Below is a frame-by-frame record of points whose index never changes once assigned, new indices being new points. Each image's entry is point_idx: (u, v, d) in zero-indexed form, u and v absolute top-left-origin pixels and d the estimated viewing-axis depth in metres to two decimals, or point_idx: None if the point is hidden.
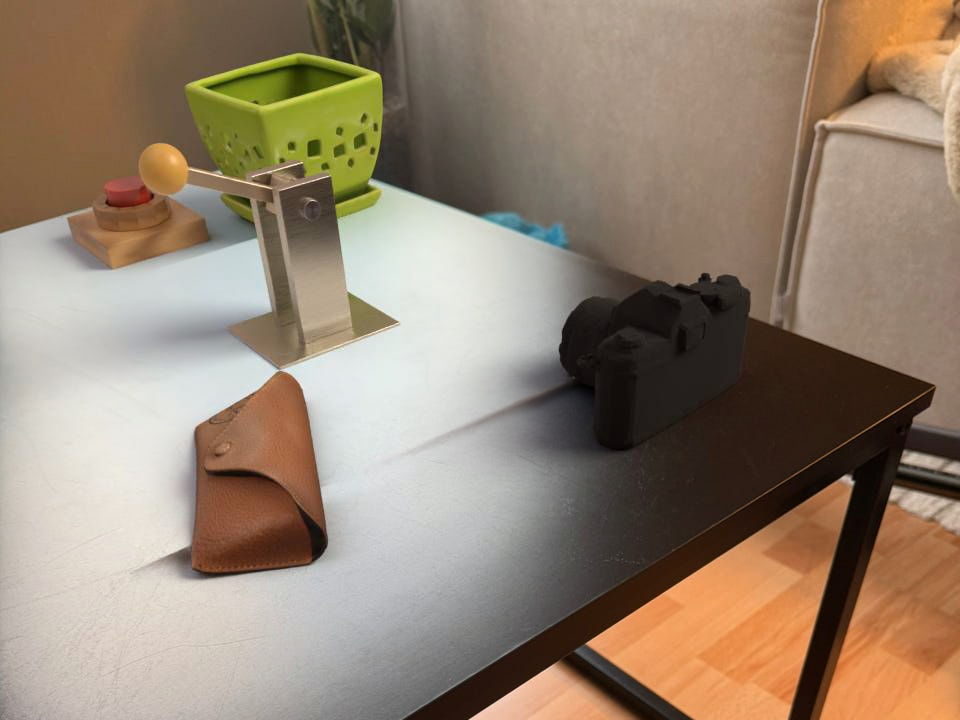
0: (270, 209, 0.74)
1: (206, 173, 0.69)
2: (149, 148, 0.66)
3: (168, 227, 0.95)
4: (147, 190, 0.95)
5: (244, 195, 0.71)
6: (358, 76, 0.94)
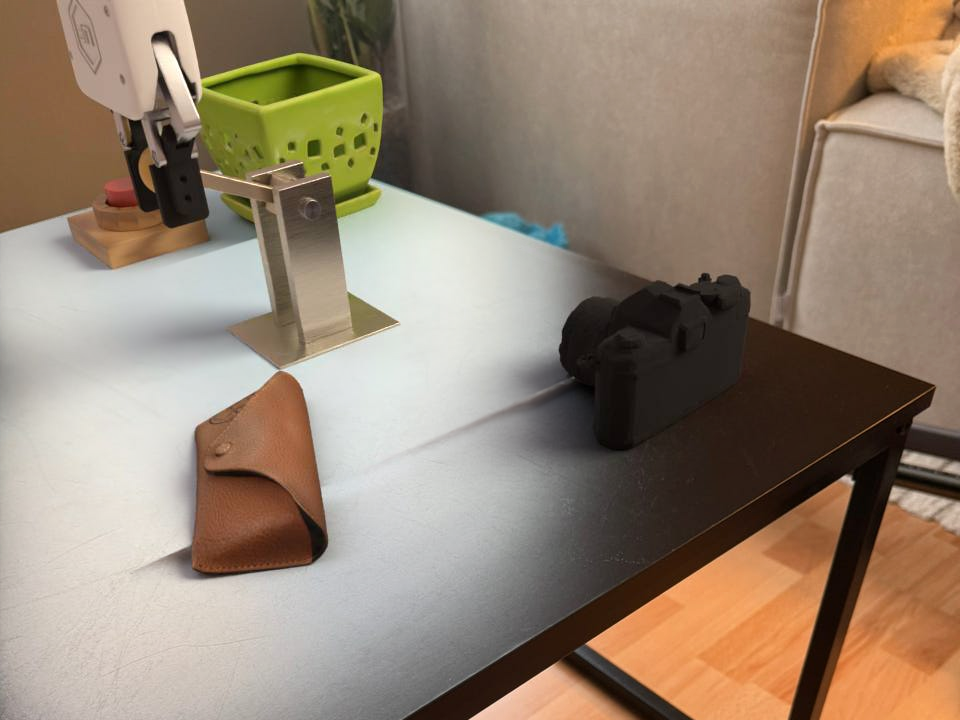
0: (270, 209, 0.74)
1: (206, 173, 0.69)
2: None
3: None
4: None
5: (244, 195, 0.71)
6: (358, 76, 0.94)
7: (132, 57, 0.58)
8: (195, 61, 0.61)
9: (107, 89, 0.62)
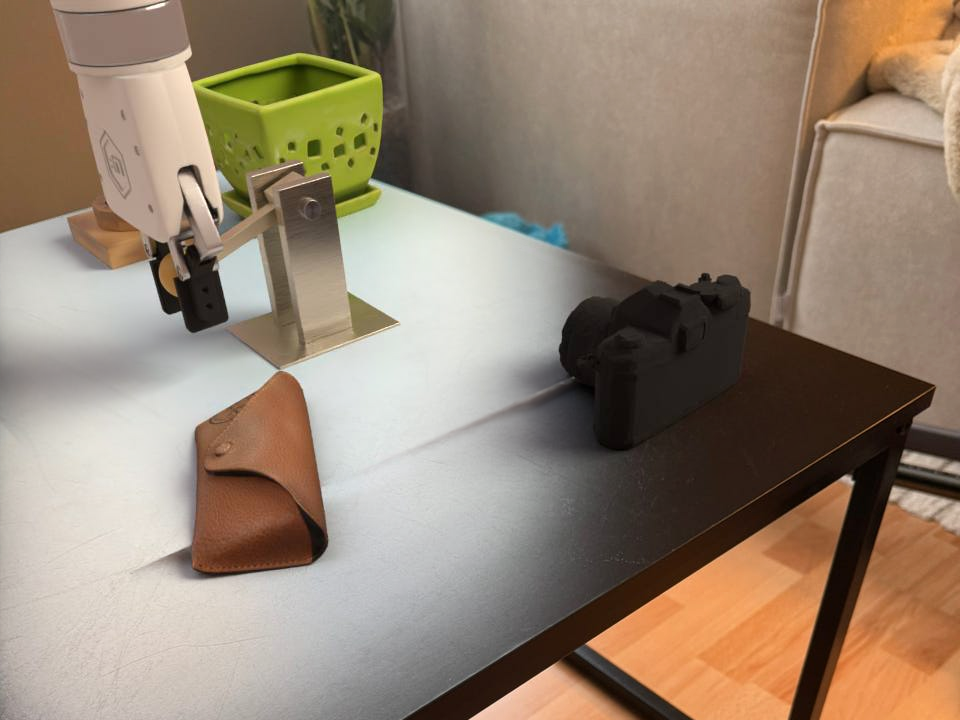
0: None
1: None
2: (161, 270, 0.71)
3: None
4: None
5: (253, 236, 0.73)
6: (358, 76, 0.94)
7: (159, 190, 0.63)
8: (217, 189, 0.66)
9: (135, 214, 0.67)
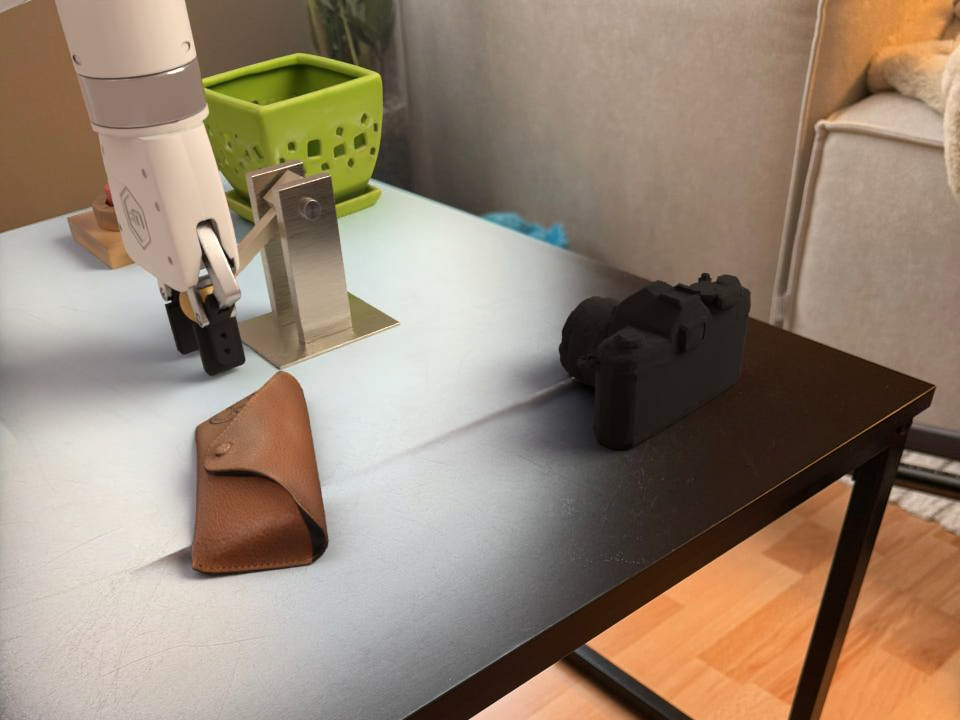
0: None
1: None
2: (181, 302, 0.73)
3: None
4: None
5: (261, 247, 0.74)
6: (358, 76, 0.94)
7: (179, 244, 0.66)
8: (234, 240, 0.68)
9: (155, 264, 0.69)
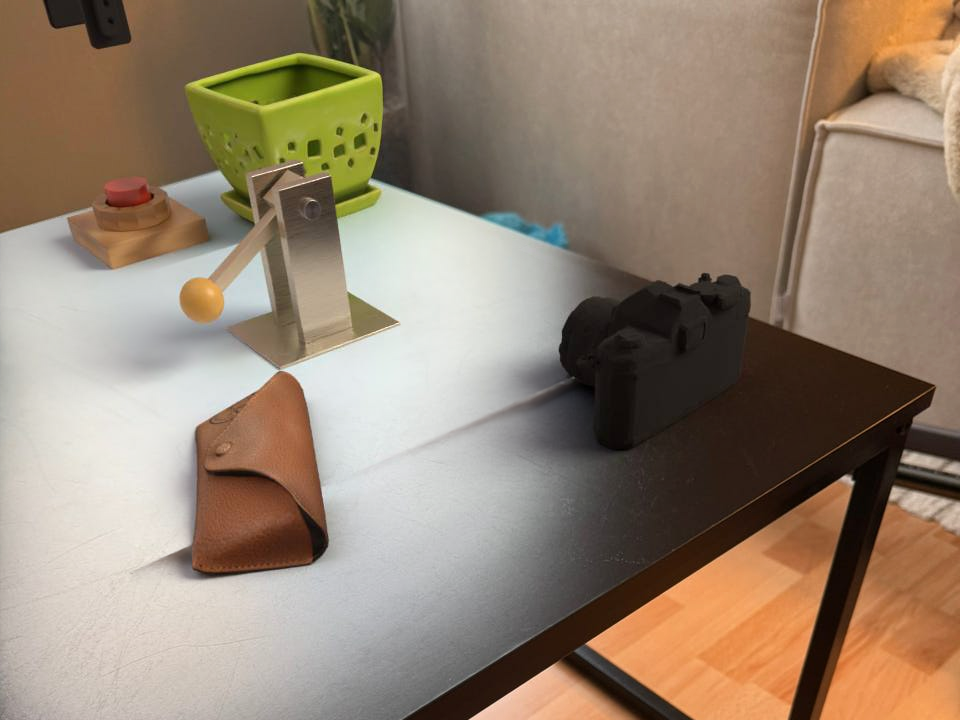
0: None
1: (226, 270, 0.74)
2: (181, 302, 0.73)
3: (168, 227, 0.95)
4: (147, 190, 0.95)
5: (261, 247, 0.74)
6: (358, 76, 0.94)
7: None
8: None
9: None
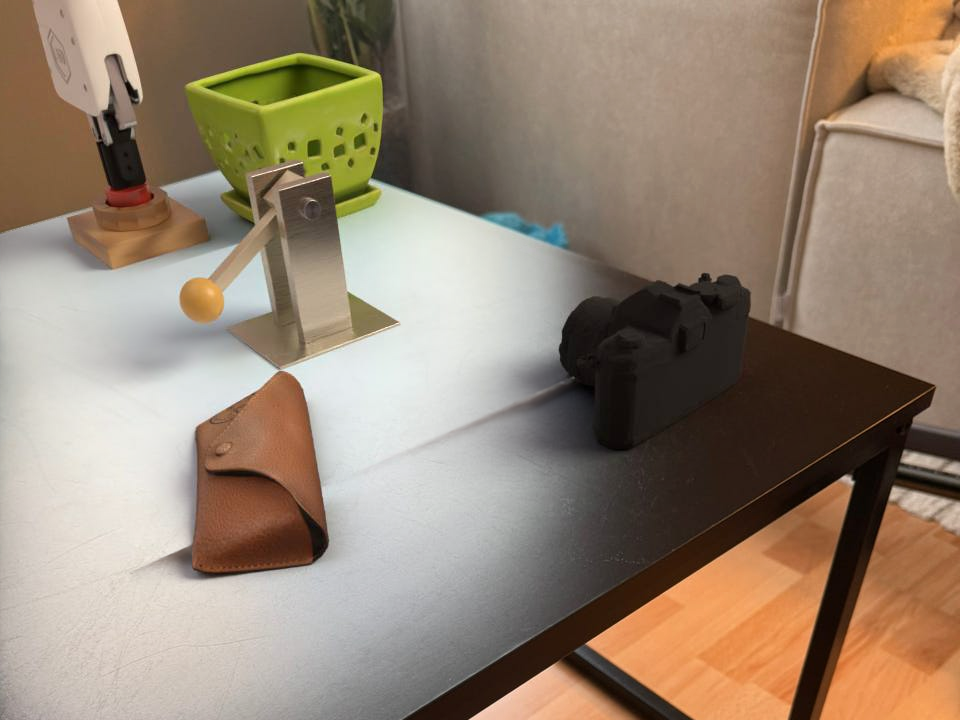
0: None
1: (226, 270, 0.74)
2: (181, 302, 0.73)
3: (168, 227, 0.95)
4: (147, 192, 0.96)
5: (261, 247, 0.74)
6: (358, 76, 0.94)
7: (91, 72, 0.84)
8: (136, 74, 0.87)
9: (75, 95, 0.88)
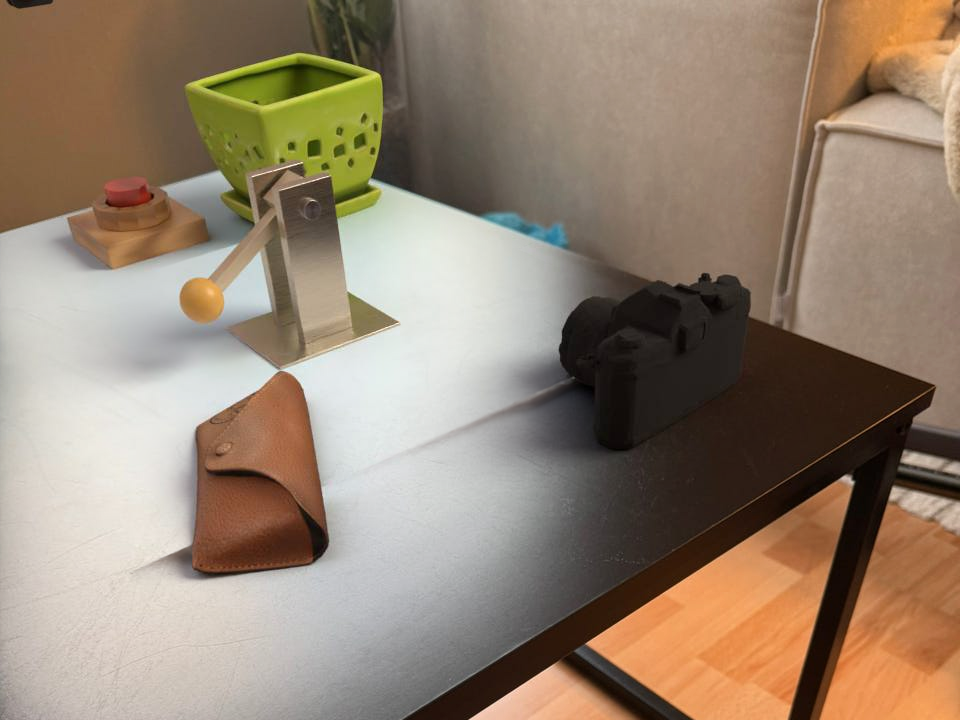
0: None
1: (226, 270, 0.74)
2: (181, 302, 0.73)
3: (168, 227, 0.95)
4: (147, 190, 0.95)
5: (261, 247, 0.74)
6: (358, 76, 0.94)
7: None
8: None
9: None
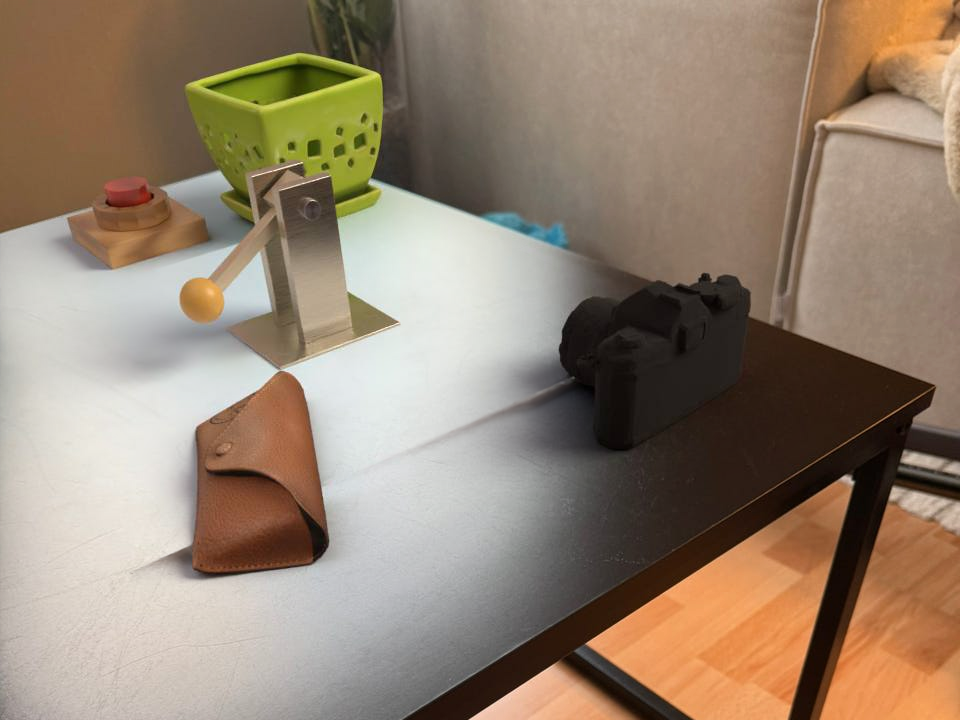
0: None
1: (226, 270, 0.74)
2: (181, 302, 0.73)
3: (168, 227, 0.95)
4: (147, 190, 0.95)
5: (261, 247, 0.74)
6: (358, 76, 0.94)
7: None
8: None
9: None
